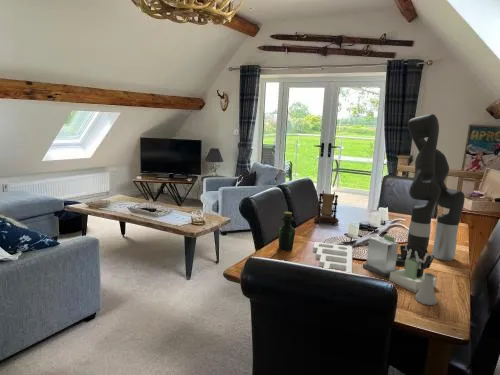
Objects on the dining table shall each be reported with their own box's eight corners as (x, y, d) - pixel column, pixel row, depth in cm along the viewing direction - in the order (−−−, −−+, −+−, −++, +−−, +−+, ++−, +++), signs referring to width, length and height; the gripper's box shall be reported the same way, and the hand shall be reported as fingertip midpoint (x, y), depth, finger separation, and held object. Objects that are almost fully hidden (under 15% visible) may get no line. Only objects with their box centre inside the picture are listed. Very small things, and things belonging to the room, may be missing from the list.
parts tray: (409, 275, 156) (410, 267, 155) (435, 287, 146) (436, 278, 145) (389, 280, 150) (390, 271, 150) (415, 292, 140) (416, 283, 139)
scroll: (312, 224, 228) (315, 191, 225) (315, 218, 242) (318, 188, 239) (337, 227, 224) (340, 194, 221) (339, 221, 238) (342, 190, 234)
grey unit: (379, 263, 167) (382, 231, 165) (401, 274, 157) (405, 239, 155) (362, 267, 163) (366, 233, 160) (384, 277, 152) (388, 242, 150)
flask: (430, 296, 137) (434, 270, 136) (441, 306, 130) (445, 279, 129) (411, 295, 137) (414, 270, 135) (420, 305, 130) (424, 278, 128)
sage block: (411, 273, 150) (414, 257, 149) (421, 278, 147) (424, 261, 145) (404, 275, 148) (406, 258, 147) (414, 279, 144) (416, 262, 143)
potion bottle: (295, 247, 183) (297, 211, 180) (292, 252, 176) (295, 215, 172) (278, 245, 185) (281, 209, 182) (275, 250, 178) (278, 213, 175)
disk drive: (409, 260, 176) (376, 256, 179) (410, 255, 175) (377, 250, 178) (413, 268, 166) (378, 263, 169) (414, 262, 165) (379, 257, 168)
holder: (350, 290, 140) (351, 283, 140) (302, 282, 145) (303, 276, 145) (351, 251, 183) (352, 246, 183) (314, 246, 188) (315, 241, 187)
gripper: (397, 228, 149) (392, 269, 152) (429, 239, 136) (423, 283, 139) (409, 227, 152) (404, 267, 155) (442, 237, 140) (435, 280, 143)
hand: (413, 274), depth 147 cm, fingers closed on sage block, 4 cm apart
